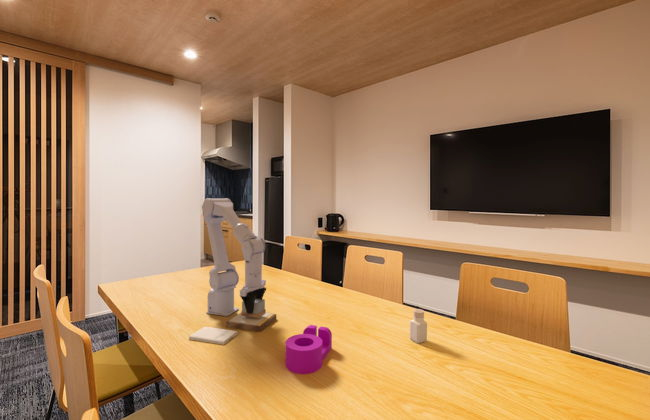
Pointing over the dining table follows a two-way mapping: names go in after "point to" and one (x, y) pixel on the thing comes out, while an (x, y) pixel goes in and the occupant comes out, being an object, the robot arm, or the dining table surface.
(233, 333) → the external hard drive
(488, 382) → the dining table surface
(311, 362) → the magenta clevis bracket
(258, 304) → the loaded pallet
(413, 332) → the salt shaker
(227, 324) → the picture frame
